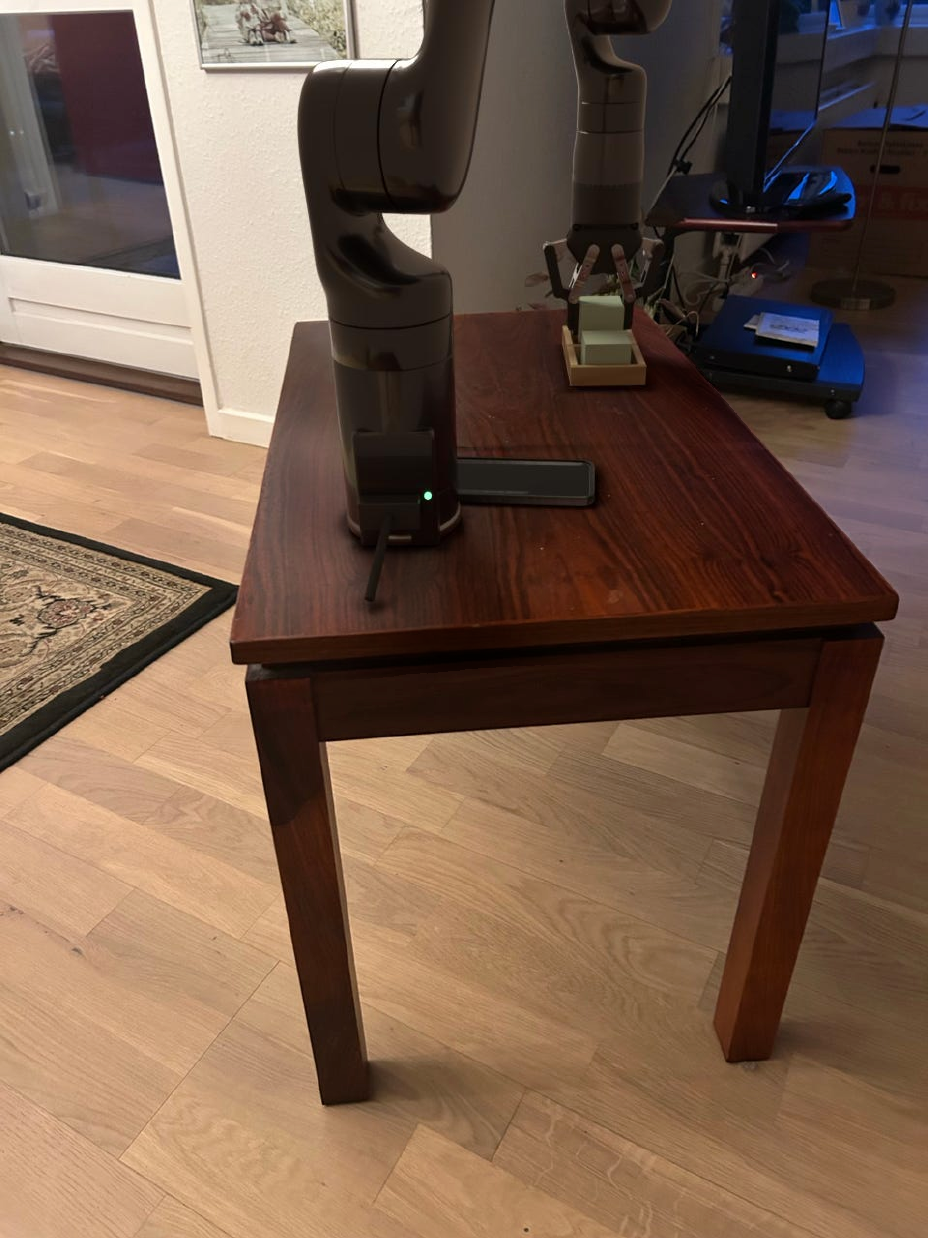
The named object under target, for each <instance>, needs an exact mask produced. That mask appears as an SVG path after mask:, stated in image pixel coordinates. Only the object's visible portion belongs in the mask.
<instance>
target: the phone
mask: <svg viewBox="0 0 928 1238" xmlns="http://www.w3.org/2000/svg"><path fill="white" fill-rule="evenodd" d="M457 460H458V488H459V502H460V503H479V504H515V505H543V506H544V505H545V506H576V507H577V506H578V507H579V506H581V507H583V506H589V505H592V504H593V503H594V502H595V496H596V495H595V494H596V493H595V492H596V467H595V466H596V465H595V463H594V462H593V461H591V460H587V459H570V458H569V459H567V458H566V459H565V458H564V459H563V458H562V459H561V458H532V457H531V458H530V457H529V458H528V457H523V458H522V457H495V456H494V457H493V456H458V455H457Z"/></svg>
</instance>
